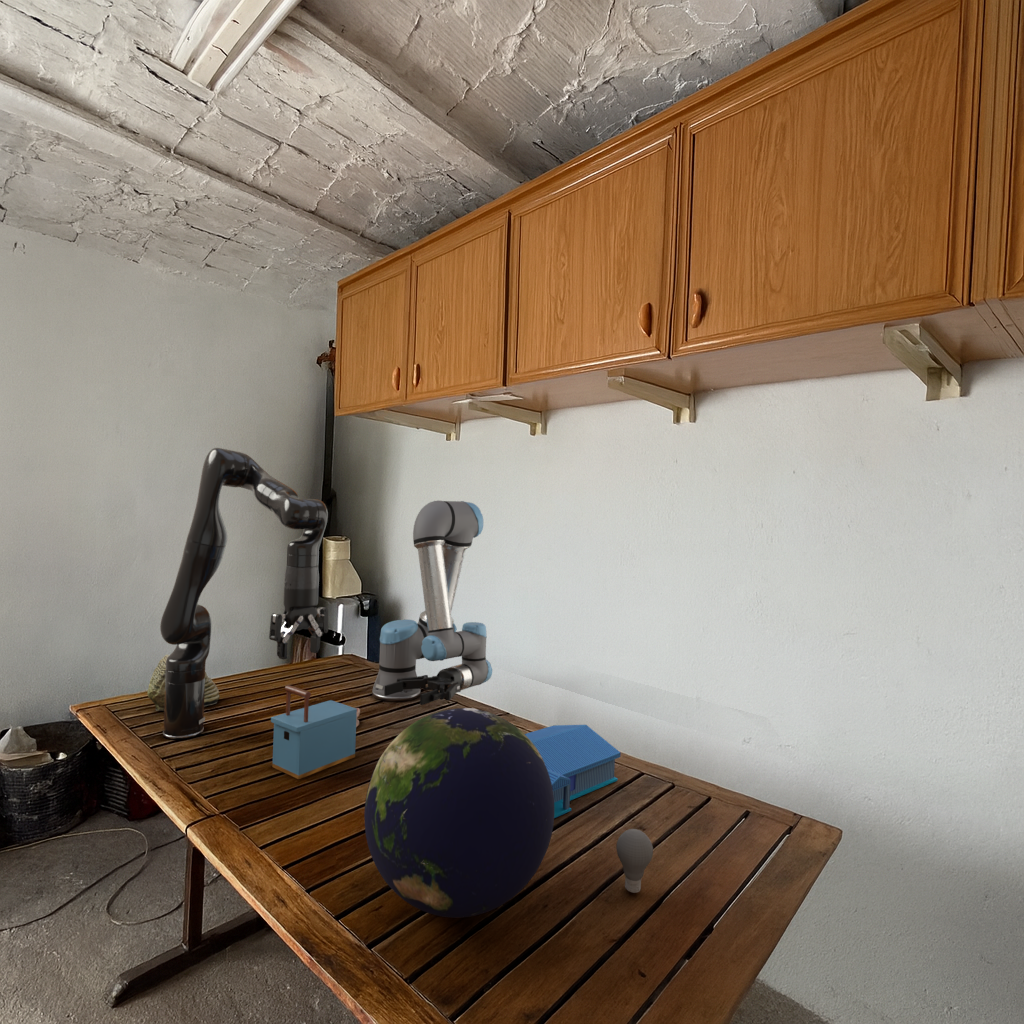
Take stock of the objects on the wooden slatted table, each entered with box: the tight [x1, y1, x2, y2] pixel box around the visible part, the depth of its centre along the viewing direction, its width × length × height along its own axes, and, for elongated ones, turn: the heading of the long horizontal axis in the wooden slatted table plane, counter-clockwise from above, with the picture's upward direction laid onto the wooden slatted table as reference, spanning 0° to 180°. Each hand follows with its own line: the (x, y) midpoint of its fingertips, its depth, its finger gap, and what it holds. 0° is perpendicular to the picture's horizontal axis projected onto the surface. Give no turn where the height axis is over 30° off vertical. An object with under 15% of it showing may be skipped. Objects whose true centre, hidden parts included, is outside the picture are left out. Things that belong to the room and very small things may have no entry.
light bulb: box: [615, 828, 654, 894], centre depth 106 cm, size 6×6×10 cm
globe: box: [363, 707, 555, 919], centre depth 101 cm, size 30×30×30 cm
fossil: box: [147, 654, 221, 712], centre depth 185 cm, size 9×18×15 cm, turn 132°
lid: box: [270, 684, 357, 732], centre depth 150 cm, size 17×10×8 cm, turn 145°
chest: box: [271, 714, 358, 780], centre depth 151 cm, size 16×10×11 cm, turn 145°
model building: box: [524, 724, 622, 819], centre depth 141 cm, size 39×24×10 cm, turn 132°
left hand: (298, 655), depth 146 cm, fingers open, 8 cm apart
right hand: (402, 695), depth 173 cm, fingers open, 13 cm apart
